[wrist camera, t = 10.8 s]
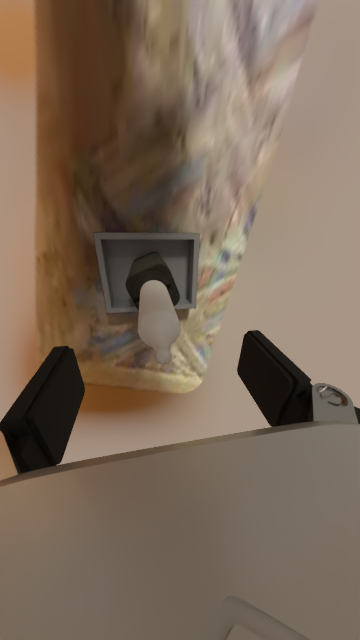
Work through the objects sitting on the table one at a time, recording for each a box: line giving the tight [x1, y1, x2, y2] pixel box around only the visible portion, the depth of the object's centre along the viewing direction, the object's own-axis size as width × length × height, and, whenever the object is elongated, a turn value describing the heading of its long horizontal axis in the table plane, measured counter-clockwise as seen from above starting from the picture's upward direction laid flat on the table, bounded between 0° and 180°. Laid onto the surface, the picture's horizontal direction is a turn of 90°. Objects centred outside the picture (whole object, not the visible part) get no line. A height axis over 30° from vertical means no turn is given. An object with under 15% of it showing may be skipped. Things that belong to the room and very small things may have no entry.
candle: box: [125, 252, 180, 364], centre depth 21 cm, size 5×5×25 cm
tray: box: [93, 232, 200, 313], centre depth 31 cm, size 12×15×4 cm
